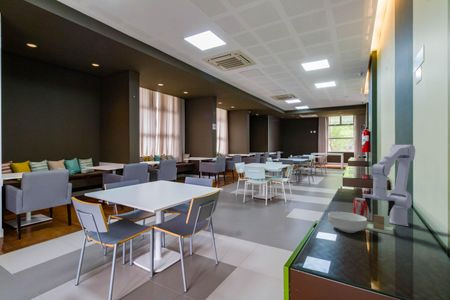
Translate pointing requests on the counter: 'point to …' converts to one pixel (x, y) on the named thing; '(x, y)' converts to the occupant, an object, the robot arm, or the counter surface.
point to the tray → (387, 229)
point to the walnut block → (378, 222)
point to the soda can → (360, 207)
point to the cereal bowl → (347, 221)
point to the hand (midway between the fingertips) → (379, 214)
